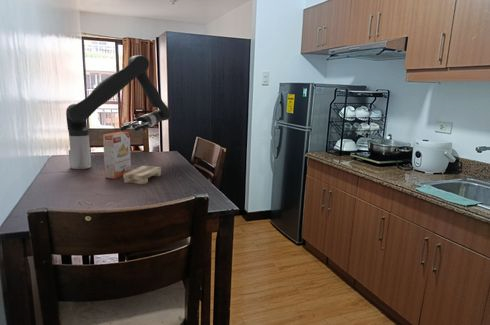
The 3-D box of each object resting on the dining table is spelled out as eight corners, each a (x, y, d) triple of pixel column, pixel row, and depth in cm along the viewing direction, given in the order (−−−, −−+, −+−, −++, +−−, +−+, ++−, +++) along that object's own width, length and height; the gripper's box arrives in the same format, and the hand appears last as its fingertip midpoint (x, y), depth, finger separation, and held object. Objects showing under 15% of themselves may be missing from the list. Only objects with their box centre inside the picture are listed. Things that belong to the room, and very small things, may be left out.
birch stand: (123, 182, 147) (123, 174, 146) (142, 173, 164) (142, 165, 163) (144, 184, 145) (143, 175, 144) (161, 174, 163) (161, 167, 162)
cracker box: (116, 179, 152) (113, 135, 147) (104, 178, 153) (101, 134, 148) (132, 172, 165) (130, 131, 161) (121, 171, 166) (119, 131, 162)
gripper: (134, 114, 181) (115, 122, 167) (156, 114, 177) (138, 122, 163) (136, 127, 184) (118, 136, 170) (158, 128, 179) (141, 136, 165)
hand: (128, 129), depth 166 cm, fingers open, 8 cm apart
